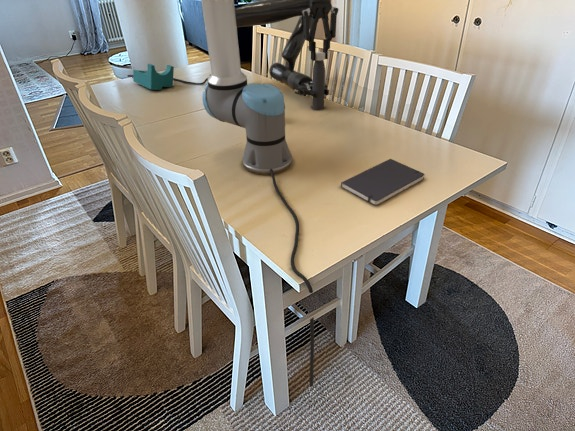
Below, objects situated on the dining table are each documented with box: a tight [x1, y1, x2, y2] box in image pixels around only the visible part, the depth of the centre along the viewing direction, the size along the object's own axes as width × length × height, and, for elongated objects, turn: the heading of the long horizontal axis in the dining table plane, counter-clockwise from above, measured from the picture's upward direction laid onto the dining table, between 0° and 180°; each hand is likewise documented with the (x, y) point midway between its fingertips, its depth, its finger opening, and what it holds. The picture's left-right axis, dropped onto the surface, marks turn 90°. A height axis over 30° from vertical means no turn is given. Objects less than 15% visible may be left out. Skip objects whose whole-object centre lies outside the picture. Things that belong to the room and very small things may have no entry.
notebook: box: [340, 158, 425, 206], centre depth 114 cm, size 13×2×21 cm
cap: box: [316, 51, 326, 61], centre depth 151 cm, size 4×4×2 cm
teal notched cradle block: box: [132, 63, 175, 91], centre depth 189 cm, size 18×11×10 cm, turn 43°
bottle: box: [311, 60, 326, 111], centre depth 157 cm, size 5×5×21 cm
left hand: (322, 94), depth 158 cm, fingers closed on bottle, 4 cm apart
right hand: (319, 59), depth 152 cm, fingers closed on cap, 4 cm apart
